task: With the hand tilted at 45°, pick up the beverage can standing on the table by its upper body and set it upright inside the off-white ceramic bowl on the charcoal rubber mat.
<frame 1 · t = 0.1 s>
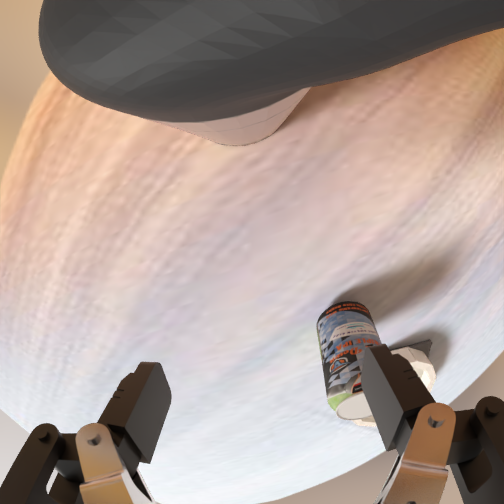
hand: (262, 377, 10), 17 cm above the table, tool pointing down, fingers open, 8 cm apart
beverage can: (338, 322, 29), on the table
bowl: (387, 383, 32), resting on mat
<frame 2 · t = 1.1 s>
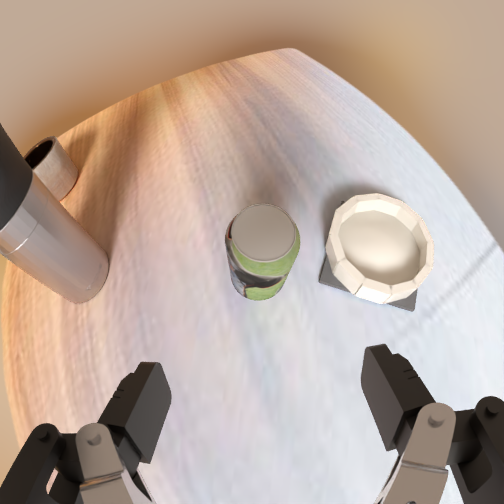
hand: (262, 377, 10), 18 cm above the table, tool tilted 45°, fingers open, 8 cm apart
planter: (59, 188, 44), on the table
beverage can: (263, 282, 32), on the table
bowl: (378, 251, 31), resting on mat
mat: (376, 253, 32), on the table
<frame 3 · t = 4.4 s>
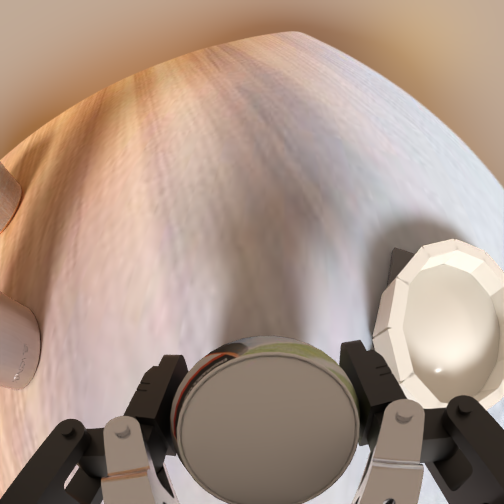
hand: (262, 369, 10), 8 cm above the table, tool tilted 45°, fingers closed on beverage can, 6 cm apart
planter: (3, 214, 29), on the table
beverage can: (265, 401, 16), on the table, touching gripper
bowl: (448, 335, 16), resting on mat
mat: (444, 336, 17), on the table
when the fingers open (10 cm above the table, at t = 9.6 s): beverage can stays where it is, resting on bowl.
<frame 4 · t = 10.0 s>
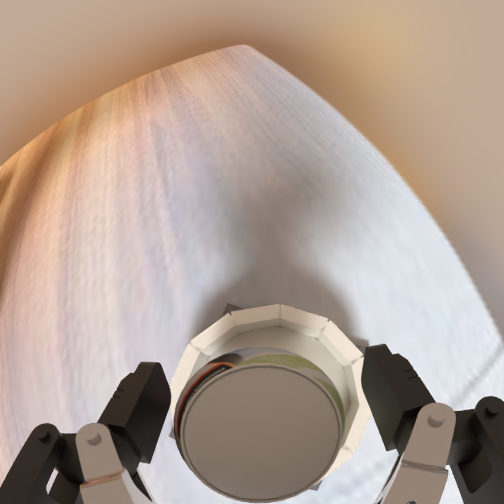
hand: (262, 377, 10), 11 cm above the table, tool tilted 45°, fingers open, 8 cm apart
beverage can: (262, 404, 17), point 1 cm above the table, touching bowl
bowl: (271, 401, 18), resting on mat
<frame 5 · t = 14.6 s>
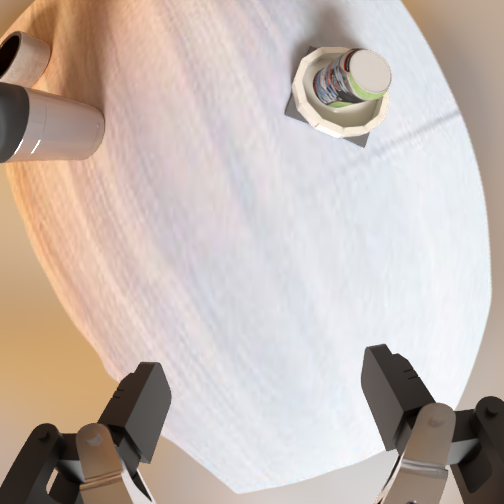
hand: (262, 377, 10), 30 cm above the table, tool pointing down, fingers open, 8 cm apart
planter: (34, 66, 31), on the table
beverage can: (335, 93, 32), point 1 cm above the table, touching bowl
bowl: (338, 93, 33), resting on mat
mat: (337, 94, 33), on the table
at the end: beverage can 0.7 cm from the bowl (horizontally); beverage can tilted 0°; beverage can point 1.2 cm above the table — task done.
